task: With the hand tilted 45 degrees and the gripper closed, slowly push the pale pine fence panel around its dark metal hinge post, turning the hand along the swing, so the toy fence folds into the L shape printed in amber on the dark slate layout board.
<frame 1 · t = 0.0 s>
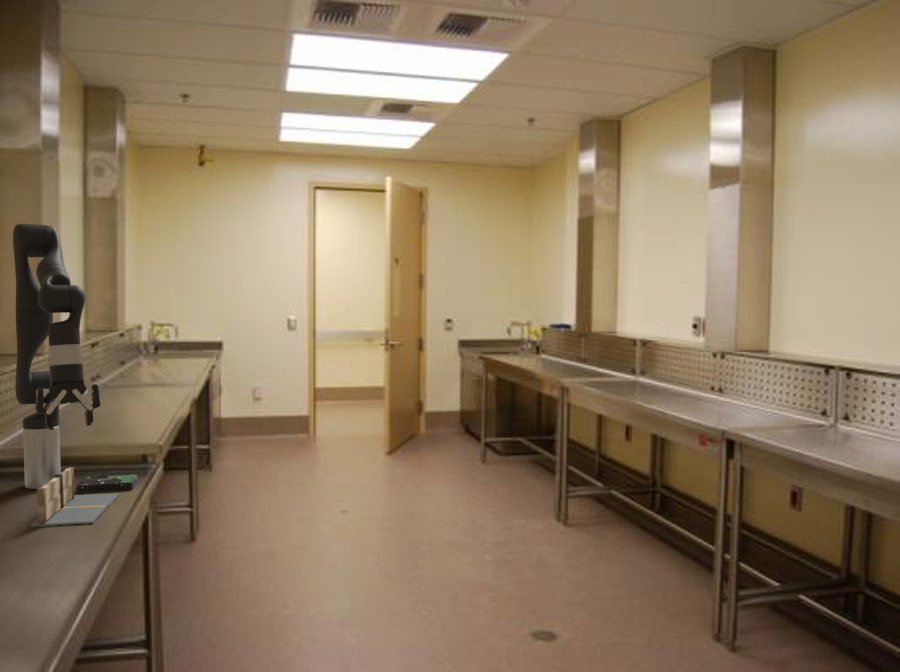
hand: (69, 427, 183), 22 cm above the table, tool pointing down, fingers open, 8 cm apart
hinged fence panel: (49, 499, 180), point 5 cm above the table, hinge at 0.0°
layout board: (78, 510, 189), on the table
fixed fence section: (60, 510, 188), resting on layout board
disk drive: (108, 489, 211), on the table
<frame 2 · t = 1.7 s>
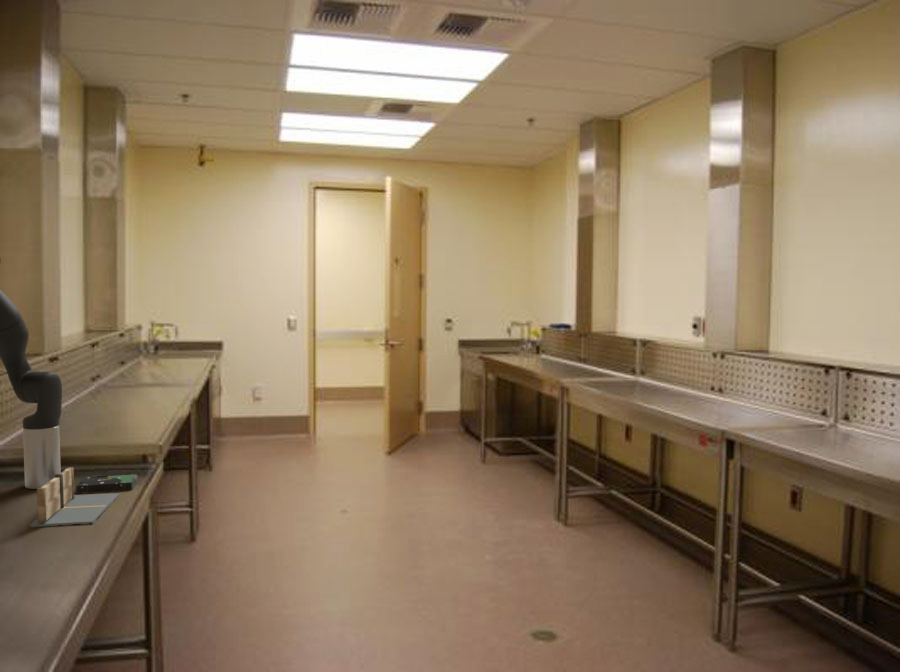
nothing on the table moved.
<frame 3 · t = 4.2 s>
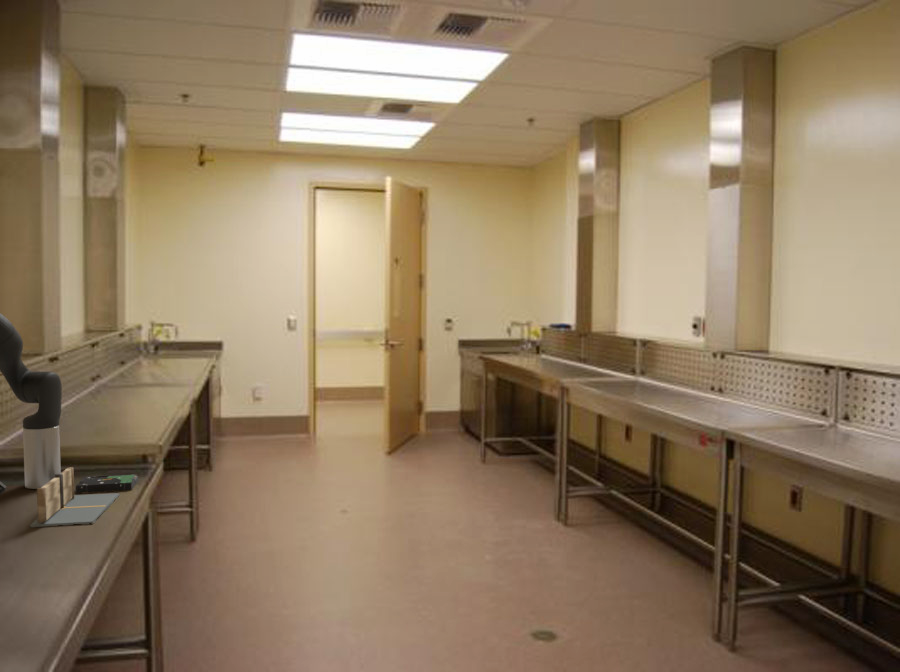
hand: (3, 491, 174), 9 cm above the table, tool tilted 45°, fingers closed
nothing on the table moved.
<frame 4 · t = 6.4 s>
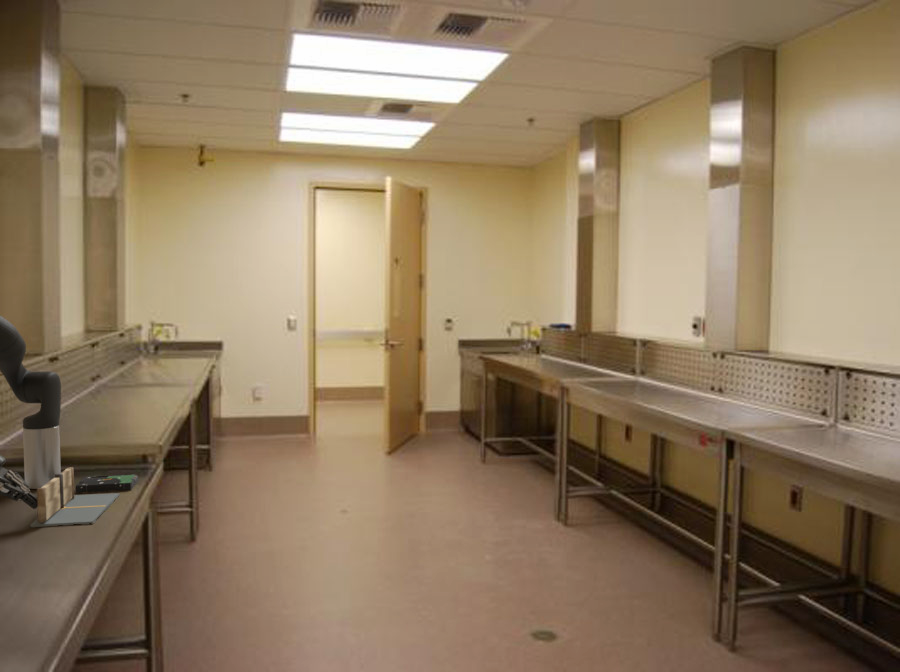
hand: (38, 505, 177), 5 cm above the table, tool tilted 45°, fingers closed
hinged fence panel: (49, 499, 180), point 5 cm above the table, hinge at 0.0°, touching gripper
everything else where it was.
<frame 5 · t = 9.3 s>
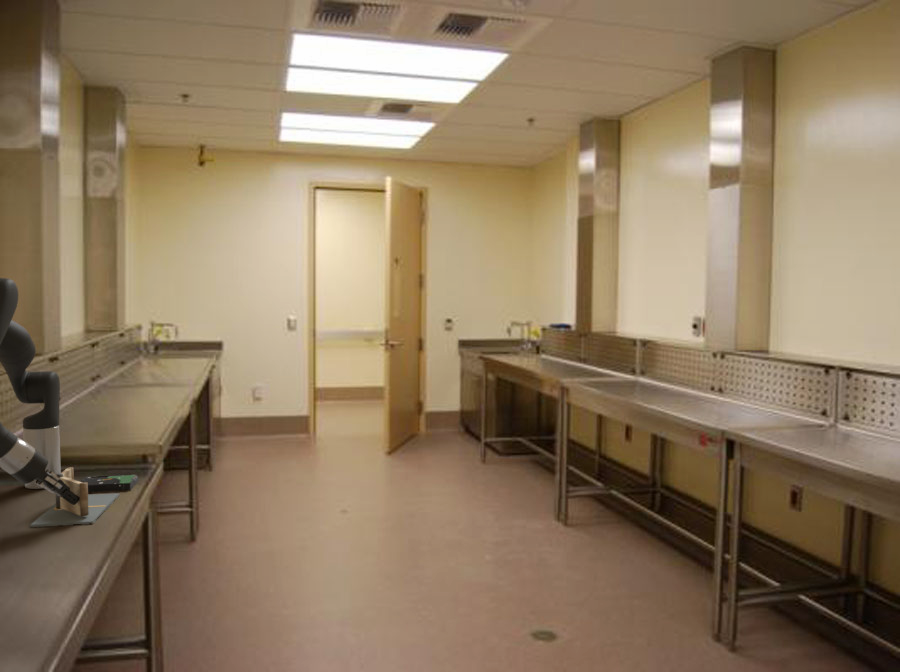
hand: (76, 501, 180), 5 cm above the table, tool tilted 45°, fingers closed
hinged fence panel: (73, 496, 183), point 5 cm above the table, hinge at 42.8°, touching gripper
everything else where it was.
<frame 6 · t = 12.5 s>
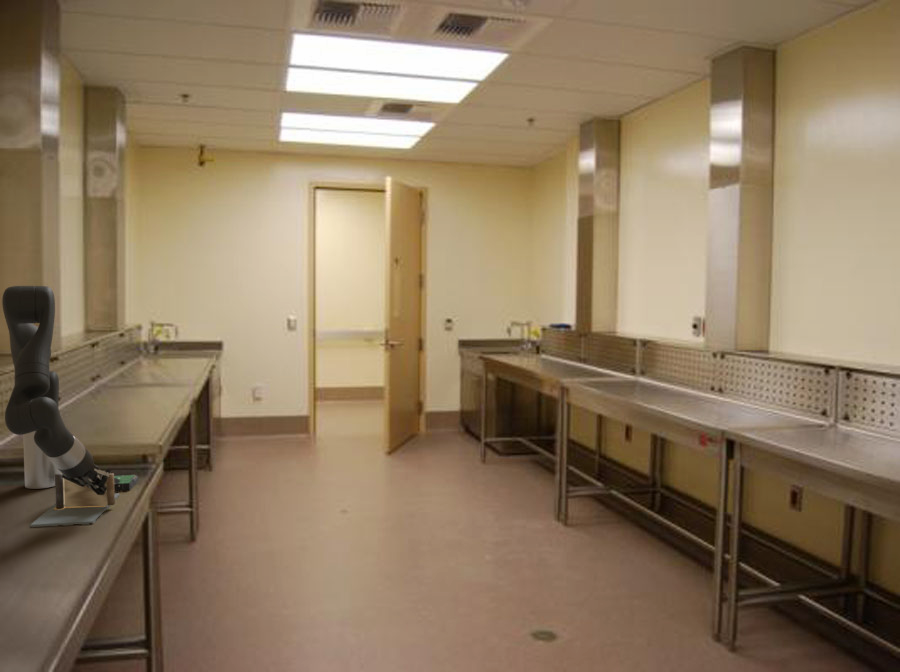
hand: (102, 491, 188), 5 cm above the table, tool tilted 45°, fingers closed
hinged fence panel: (90, 490, 189), point 5 cm above the table, hinge at 86.2°
everything else where it was.
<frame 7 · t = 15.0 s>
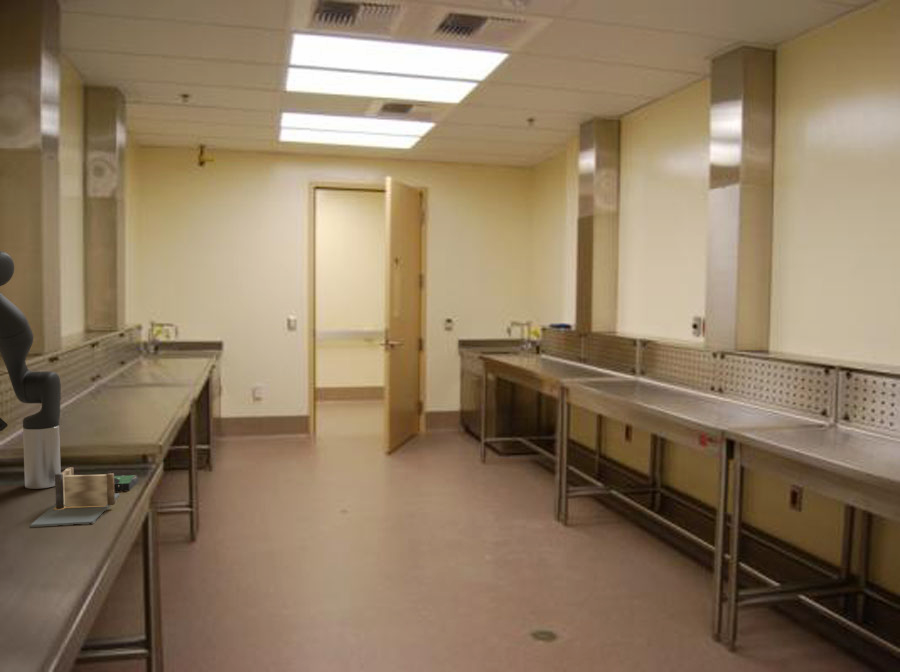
hand: (3, 427, 175), 24 cm above the table, tool tilted 40°, fingers closed
nothing on the table moved.
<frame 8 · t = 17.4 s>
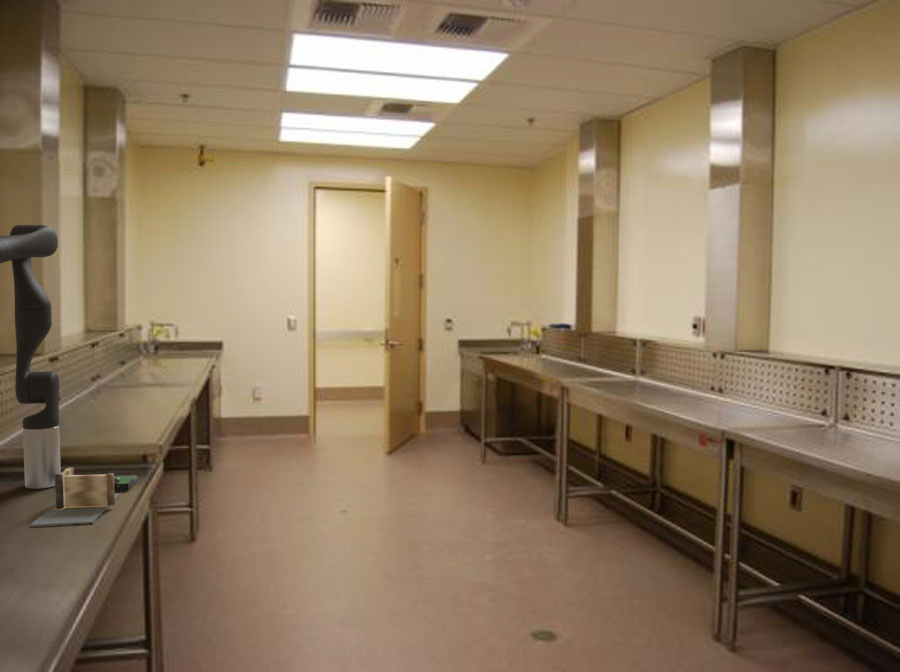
nothing on the table moved.
at the end: hinged fence panel at +86° (first picture: +0°); disk drive moved 0.8 cm from its start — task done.
